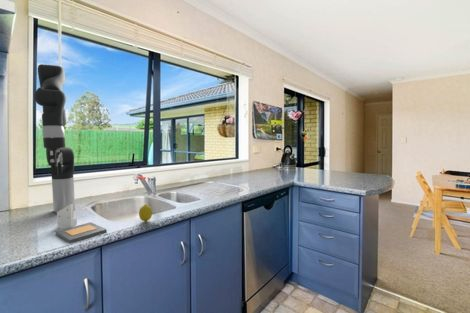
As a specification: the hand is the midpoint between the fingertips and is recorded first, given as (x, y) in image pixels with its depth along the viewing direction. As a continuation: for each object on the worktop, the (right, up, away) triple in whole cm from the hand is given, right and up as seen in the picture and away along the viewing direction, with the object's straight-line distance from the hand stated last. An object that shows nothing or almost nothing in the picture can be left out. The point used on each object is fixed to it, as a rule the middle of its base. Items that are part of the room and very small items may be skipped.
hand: (57, 174), depth 105 cm
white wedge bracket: (+4, -23, 0) cm, 23 cm away
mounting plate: (+16, -23, -8) cm, 29 cm away
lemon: (+37, -22, +5) cm, 43 cm away
